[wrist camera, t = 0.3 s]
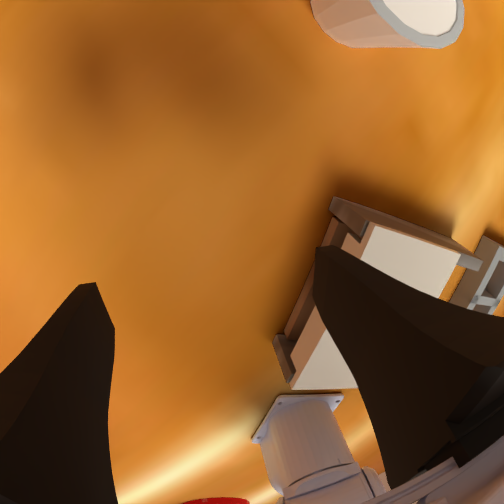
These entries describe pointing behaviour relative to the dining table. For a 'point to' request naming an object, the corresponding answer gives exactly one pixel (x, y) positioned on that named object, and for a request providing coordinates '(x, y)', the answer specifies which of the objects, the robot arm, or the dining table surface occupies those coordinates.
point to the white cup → (390, 22)
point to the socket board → (483, 280)
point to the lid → (389, 262)
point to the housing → (348, 221)
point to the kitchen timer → (219, 501)
